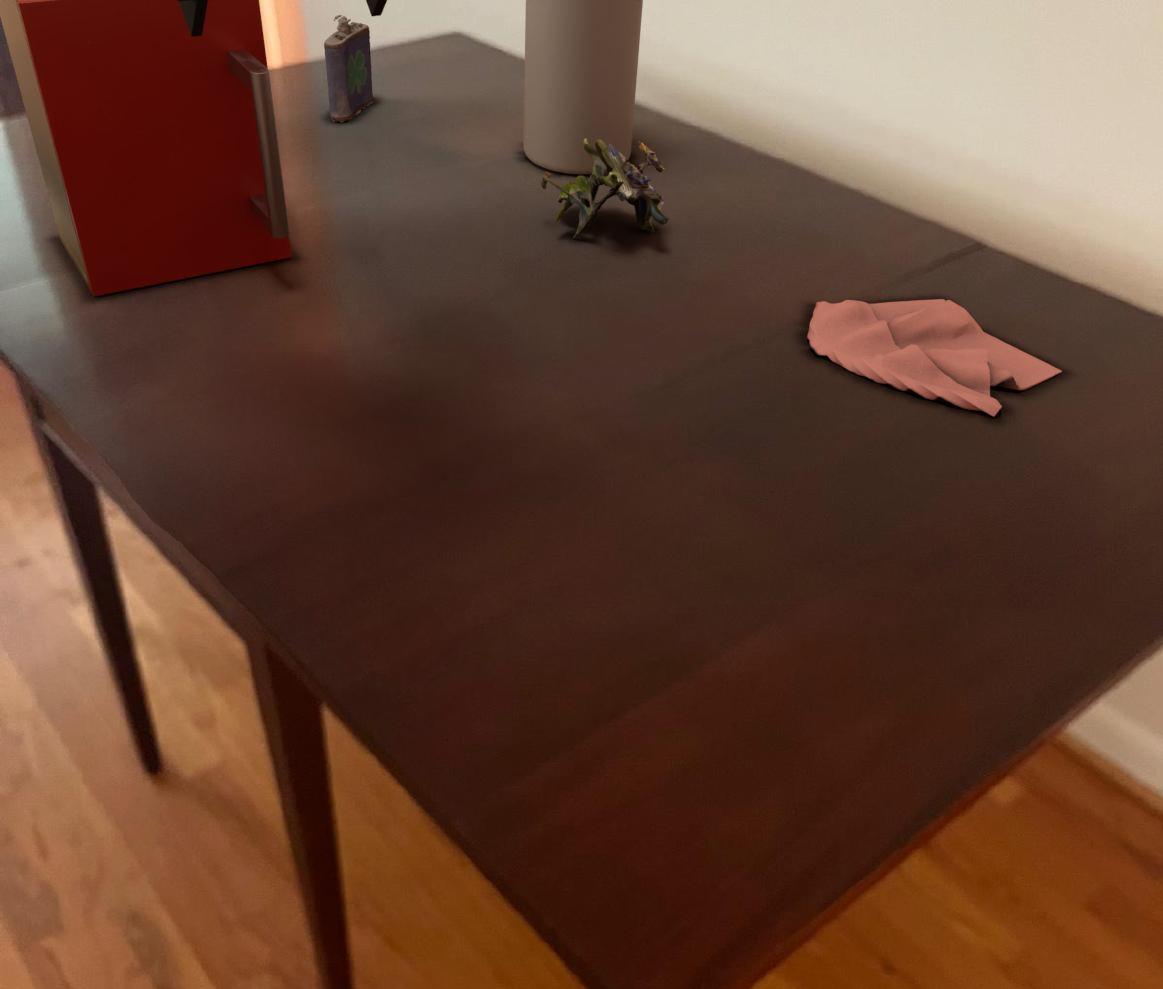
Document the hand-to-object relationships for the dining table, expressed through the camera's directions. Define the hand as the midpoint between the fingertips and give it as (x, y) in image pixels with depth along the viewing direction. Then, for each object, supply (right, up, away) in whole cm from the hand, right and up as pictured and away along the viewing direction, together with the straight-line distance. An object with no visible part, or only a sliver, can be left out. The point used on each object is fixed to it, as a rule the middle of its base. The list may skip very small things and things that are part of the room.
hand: (283, 8), depth 82 cm
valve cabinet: (-18, -9, +27) cm, 34 cm away
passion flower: (+24, -6, +34) cm, 43 cm away
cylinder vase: (+21, +8, +50) cm, 55 cm away
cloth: (+53, -22, +19) cm, 60 cm away
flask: (-7, +16, +57) cm, 60 cm away
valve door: (-13, -15, +21) cm, 28 cm away
